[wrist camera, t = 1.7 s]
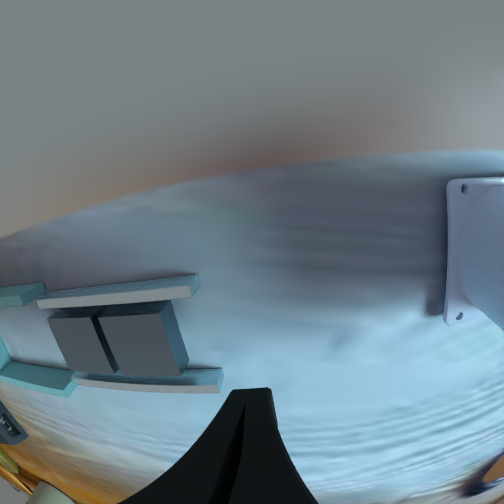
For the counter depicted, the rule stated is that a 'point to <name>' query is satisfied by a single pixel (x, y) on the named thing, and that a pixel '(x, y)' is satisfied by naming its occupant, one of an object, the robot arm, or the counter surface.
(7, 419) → the external hard drive
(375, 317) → the counter surface
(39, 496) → the travel mug
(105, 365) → the block
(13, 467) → the saucer
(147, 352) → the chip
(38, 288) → the tray
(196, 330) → the counter surface
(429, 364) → the counter surface
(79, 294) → the slot guide
